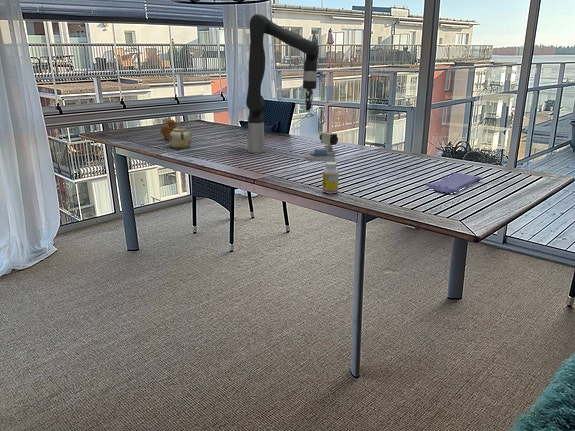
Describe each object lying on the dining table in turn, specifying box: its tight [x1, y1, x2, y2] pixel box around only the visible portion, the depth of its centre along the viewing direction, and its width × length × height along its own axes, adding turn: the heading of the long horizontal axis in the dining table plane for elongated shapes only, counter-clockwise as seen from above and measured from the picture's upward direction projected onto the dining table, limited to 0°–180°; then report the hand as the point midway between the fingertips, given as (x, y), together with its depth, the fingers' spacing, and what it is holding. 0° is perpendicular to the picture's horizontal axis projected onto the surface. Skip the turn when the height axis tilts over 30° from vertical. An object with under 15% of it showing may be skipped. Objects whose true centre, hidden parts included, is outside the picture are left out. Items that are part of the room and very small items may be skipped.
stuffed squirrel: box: [159, 119, 179, 142], centre depth 310 cm, size 10×14×13 cm
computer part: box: [425, 172, 484, 194], centre depth 208 cm, size 30×4×15 cm
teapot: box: [169, 125, 193, 150], centre depth 286 cm, size 20×14×13 cm
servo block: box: [311, 147, 331, 156], centre depth 261 cm, size 11×4×5 cm, turn 83°
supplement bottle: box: [321, 161, 340, 194], centre depth 197 cm, size 7×7×13 cm
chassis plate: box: [304, 150, 336, 162], centre depth 262 cm, size 16×15×2 cm
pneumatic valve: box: [319, 130, 339, 152], centre depth 277 cm, size 6×12×12 cm, turn 36°
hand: (308, 109), depth 263 cm, fingers open, 8 cm apart
